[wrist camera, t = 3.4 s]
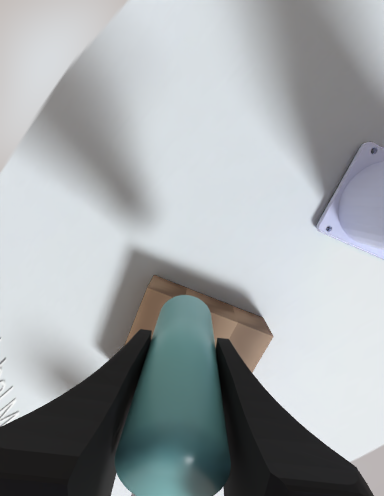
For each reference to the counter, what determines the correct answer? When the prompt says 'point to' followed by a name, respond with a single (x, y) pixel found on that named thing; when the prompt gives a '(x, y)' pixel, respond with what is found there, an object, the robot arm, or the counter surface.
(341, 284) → the counter surface
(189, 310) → the peg
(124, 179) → the counter surface
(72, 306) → the counter surface
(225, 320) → the socket block
